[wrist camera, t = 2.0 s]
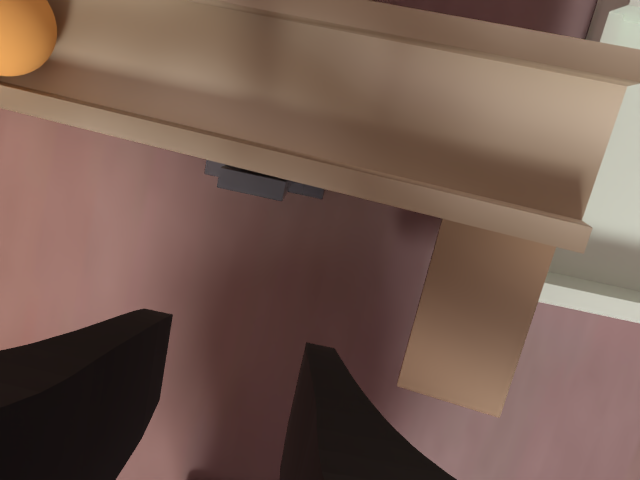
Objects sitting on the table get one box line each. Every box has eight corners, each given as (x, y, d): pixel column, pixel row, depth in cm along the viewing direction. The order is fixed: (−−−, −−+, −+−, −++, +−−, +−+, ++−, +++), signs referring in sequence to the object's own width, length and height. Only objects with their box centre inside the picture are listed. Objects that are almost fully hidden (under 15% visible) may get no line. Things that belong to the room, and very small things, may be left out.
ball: (74, 89, 17) (-9, 79, 15) (2, 71, 18) (-89, 59, 15) (83, -10, 17) (-2, -40, 14) (8, -23, 18) (-86, -55, 15)
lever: (510, 409, 17) (517, 444, 15) (-14, 249, 21) (-61, 261, 19) (626, 62, 15) (653, 51, 13) (5, -54, 18) (-48, -76, 16)
